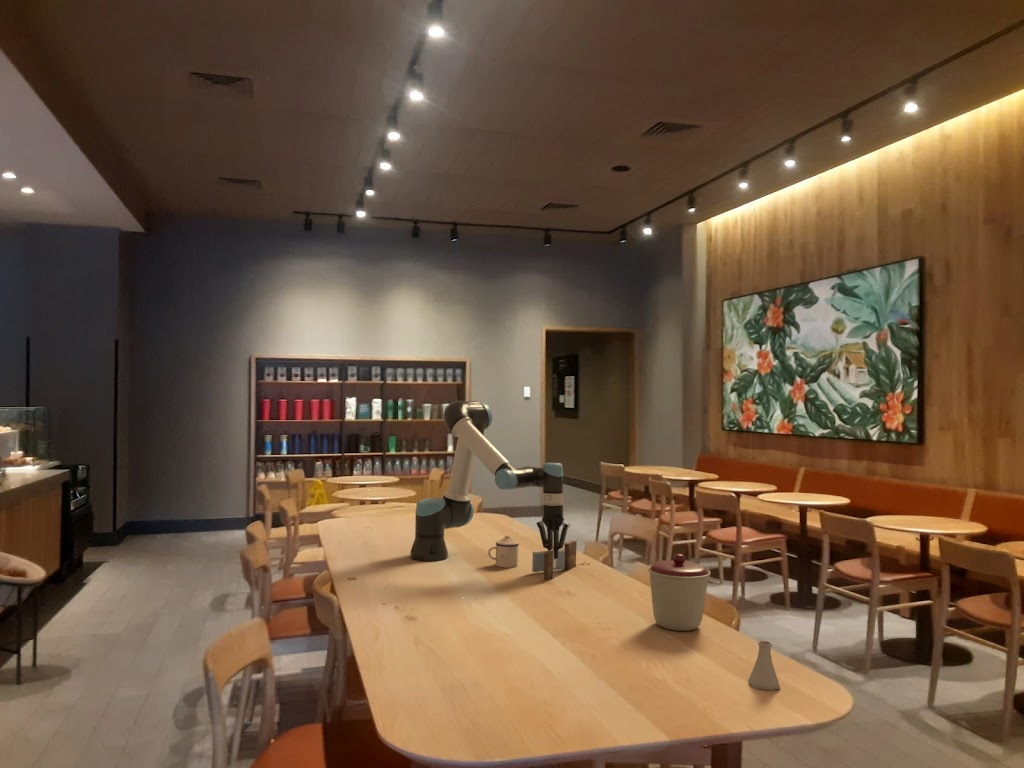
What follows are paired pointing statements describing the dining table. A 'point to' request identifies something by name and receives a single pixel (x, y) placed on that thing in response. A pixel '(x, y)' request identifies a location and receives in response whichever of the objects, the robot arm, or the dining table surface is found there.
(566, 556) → the frame
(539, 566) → the gate
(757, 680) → the flask
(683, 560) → the canister
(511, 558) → the teacup with lid
